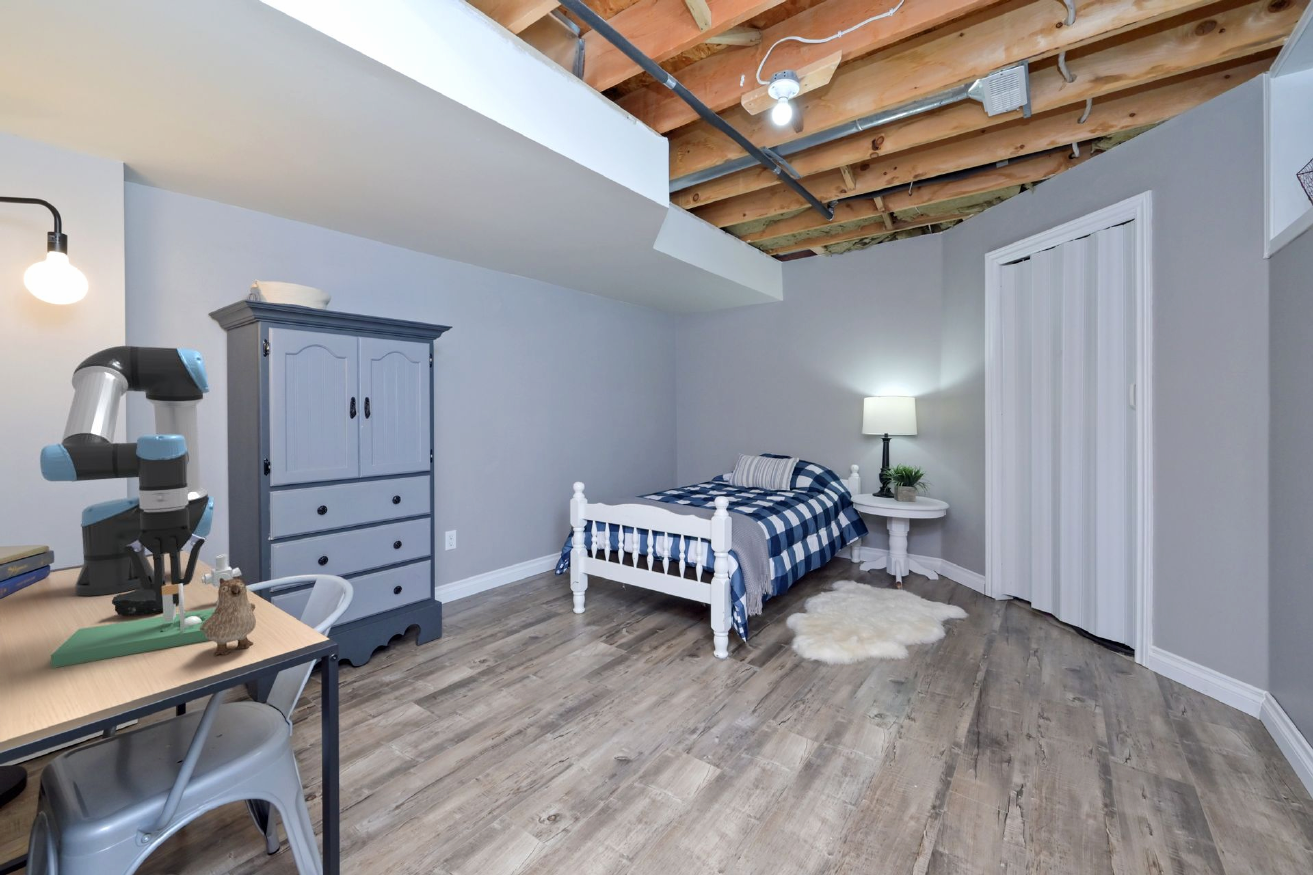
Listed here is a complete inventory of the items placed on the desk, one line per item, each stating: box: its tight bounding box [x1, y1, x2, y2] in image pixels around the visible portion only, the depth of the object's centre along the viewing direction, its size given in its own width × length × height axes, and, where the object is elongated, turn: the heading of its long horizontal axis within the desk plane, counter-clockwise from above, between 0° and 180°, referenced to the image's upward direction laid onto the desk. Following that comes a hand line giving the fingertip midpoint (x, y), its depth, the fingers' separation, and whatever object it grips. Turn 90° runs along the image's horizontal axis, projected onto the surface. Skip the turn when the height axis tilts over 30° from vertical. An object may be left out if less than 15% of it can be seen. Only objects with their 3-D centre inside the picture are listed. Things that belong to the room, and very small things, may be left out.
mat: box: [50, 583, 217, 669], centre depth 112 cm, size 14×24×12 cm, turn 122°
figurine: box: [199, 575, 257, 656], centre depth 107 cm, size 9×10×15 cm
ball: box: [185, 616, 202, 626], centre depth 116 cm, size 4×4×4 cm
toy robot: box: [201, 553, 243, 607], centre depth 133 cm, size 4×8×12 cm, turn 138°
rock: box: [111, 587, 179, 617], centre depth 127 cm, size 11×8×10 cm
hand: (169, 619), depth 114 cm, fingers closed
